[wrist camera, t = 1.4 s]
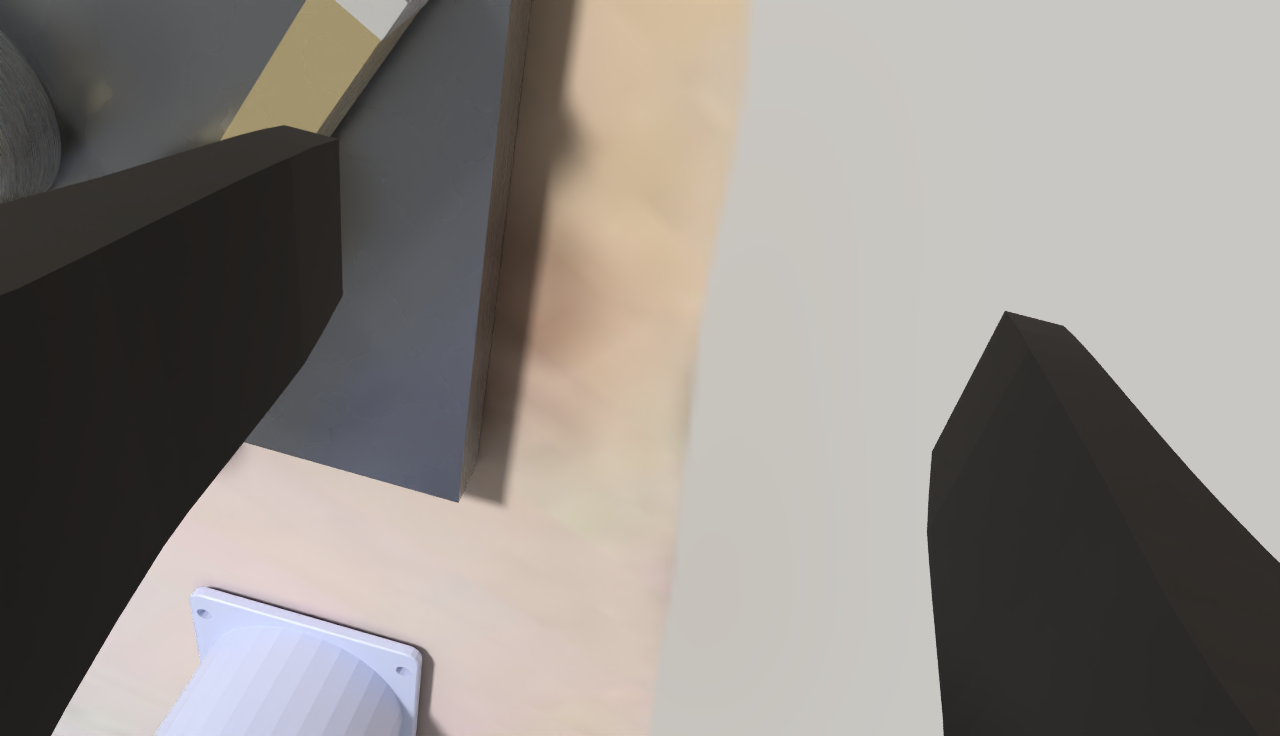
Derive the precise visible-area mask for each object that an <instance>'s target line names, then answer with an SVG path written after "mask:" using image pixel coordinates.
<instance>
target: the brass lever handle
mask: <svg viewBox="0 0 1280 736" xmlns="http://www.w3.org/2000/svg"><path fill="white" fill-rule="evenodd" d="M427 2H428V0H306V1H305V3H304V5H303V6H302V8H301V9H300V11H299V13H298V14H297V16H296V18H295V19H294V21H293V23H292V24H291V26H290V27H289V29H288V31H287V32H286V34H285V36H284V37H283V39H282V41H281V42H280V44H279V45H278V47H277V49H276V50H275V52H274V54H273V55H272V57H271V58H270V60H269V62H268V63H267V65H266V67H265V68H264V70H263V72H262V73H261V75H260V76H259V78H258V80H257V81H256V83H255V85H254V86H253V88H252V90H251V91H250V93H249V94H248V96H247V98H246V99H245V101H244V103H243V104H242V106H241V107H240V109H239V111H238V112H237V114H236V116H235V117H234V119H233V121H232V122H231V124H230V125H229V127H228V129H227V130H226V132H225V134H224V135H223V137H222V138H221V140H224V139H227V138H231V137H235V136H238V135H242V134H245V133H249V132H253V131H257V130H261V129H266V128H271V127H277V126H282V125H286V126H290V127H294V128H298V129H302V130H306V131H310V132H313V133H317V134H321V135H325V136H329V137H330V136H331V135H332V133H333V132H334V130H335V129H336V128H337V126H338V125H339V123H340V122H341V121H342V119H343V118H344V116H345V115H346V114H347V112H348V111H349V109H350V108H351V106H352V105H353V104H354V102H355V101H356V99H357V98H358V97H359V95H360V94H361V92H362V91H363V90H364V88H365V87H366V85H367V84H368V82H369V81H370V80H371V78H372V77H373V75H374V74H375V73H376V71H377V70H378V68H379V67H380V65H381V64H382V63H383V61H384V60H385V58H386V57H387V56H388V54H389V53H390V51H391V50H392V49H393V47H394V46H395V44H396V43H397V41H398V40H399V39H400V37H401V36H402V34H403V33H404V32H405V30H406V29H407V27H408V26H409V25H410V23H411V22H412V20H413V19H414V17H415V16H416V15H417V13H418V12H419V10H420V9H421V8H422V7H423V6H424V5H425V4H426V3H427ZM221 140H220V141H221Z"/></svg>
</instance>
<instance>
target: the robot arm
mask: <svg viewBox="0 0 1280 736" xmlns="http://www.w3.org/2000/svg"><path fill="white" fill-rule="evenodd" d="M342 296H343V281H342V242H341V203H340V163H339V139H337V138H333V137H329V136H325V135H321V134H317V133H313V132H310V131H306V130H302V129H298V128H294V127H290V126H286V125H282V126H277V127H271V128H266V129H261V130H257V131H253V132H249V133H245V134H242V135H238V136H235V137H231V138H227V139H224V140H221V141H217V142H214V143H211V144H207V145H204V146H201V147H197V148H194V149H191V150H188V151H184V152H181V153H178V154H174V155H171V156H168V157H165V158H161V159H158V160H155V161H152V162H148V163H145V164H142V165H138V166H135V167H132V168H129V169H125V170H122V171H119V172H115V173H112V174H109V175H105V176H102V177H99V178H95V179H91V180H87V181H84V182H80V183H76V184H72V185H69V186H65V187H61V188H57V189H54V190H50V191H46V192H42V193H39V194H35V195H31V196H27V197H24V198H20V199H16V200H13V201H9V202H5V203H1V204H0V736H51V735H52V733H53V731H54V729H55V727H56V725H57V724H58V722H59V720H60V718H61V716H62V714H63V713H64V711H65V709H66V707H67V705H68V704H69V702H70V700H71V698H72V697H73V695H74V693H75V692H76V690H77V688H78V687H79V685H80V683H81V681H82V680H83V678H84V676H85V675H86V673H87V671H88V669H89V668H90V666H91V664H92V663H93V661H94V659H95V657H96V656H97V654H98V652H99V651H100V649H101V647H102V646H103V644H104V642H105V640H106V639H107V637H108V635H109V634H110V632H111V630H112V628H113V627H114V625H115V623H116V622H117V620H118V618H119V617H120V615H121V614H122V612H123V610H124V609H125V607H126V606H127V604H128V602H129V601H130V599H131V598H132V596H133V594H134V593H135V591H136V590H137V588H138V586H139V585H140V583H141V582H142V580H143V578H144V577H145V575H146V574H147V572H148V570H149V569H150V567H151V566H152V564H153V562H154V561H155V559H156V558H157V556H158V554H159V553H160V551H161V550H162V548H163V547H164V545H165V544H166V542H167V541H168V539H169V538H170V537H171V535H172V534H173V533H174V531H175V530H176V528H177V527H178V526H179V524H180V523H181V521H182V520H183V519H184V517H185V516H186V514H187V513H188V512H189V510H190V509H191V508H192V507H193V505H194V504H195V503H196V502H197V500H198V499H199V498H200V497H201V495H202V494H203V493H204V491H205V490H206V489H207V488H208V486H209V485H210V484H211V483H212V481H213V480H214V479H215V478H216V476H217V475H218V474H219V473H220V471H221V470H222V469H223V468H224V466H225V465H226V464H227V463H228V461H229V460H230V459H231V457H232V456H233V455H234V454H235V452H236V451H237V450H238V449H239V447H240V446H241V445H242V444H243V442H244V441H245V440H246V439H247V437H248V436H249V435H250V434H251V432H252V431H253V430H254V429H255V427H256V426H257V425H258V423H259V422H260V421H261V420H262V418H263V417H264V416H265V415H266V413H267V412H268V411H269V409H270V408H271V407H272V406H273V404H274V403H275V402H276V400H277V399H278V398H279V397H280V395H281V394H282V393H283V391H284V390H285V389H286V388H287V386H288V385H289V384H290V382H291V381H292V380H293V378H294V377H295V376H296V374H297V373H298V372H299V371H300V369H301V368H302V367H303V365H304V364H305V362H306V360H307V359H308V357H309V355H310V353H311V352H312V350H313V348H314V347H315V345H316V343H317V342H318V340H319V338H320V337H321V335H322V333H323V331H324V329H325V328H326V326H327V324H328V322H329V320H330V318H331V316H332V315H333V313H334V311H335V309H336V307H337V305H338V304H339V302H340V300H341V298H342ZM927 537H928V553H929V565H930V577H931V589H932V601H933V613H934V624H935V635H936V647H937V658H938V669H939V680H940V691H941V702H942V713H943V729H944V736H1280V563H1279V562H1278V561H1277V560H1276V559H1275V558H1274V557H1273V556H1272V555H1271V554H1270V553H1269V552H1268V551H1267V550H1266V549H1265V548H1264V547H1263V546H1262V545H1261V544H1260V543H1259V542H1258V541H1257V540H1256V539H1255V538H1254V537H1253V536H1252V535H1251V534H1250V533H1249V532H1248V531H1247V529H1246V528H1245V527H1244V526H1243V525H1242V524H1241V523H1240V522H1239V521H1238V520H1237V519H1236V518H1235V517H1234V516H1233V515H1232V514H1231V513H1230V512H1229V511H1228V510H1227V509H1226V508H1225V507H1224V506H1223V505H1222V504H1221V503H1220V502H1219V501H1218V499H1217V498H1216V497H1215V496H1214V495H1213V494H1212V493H1211V492H1210V491H1209V490H1208V489H1207V487H1206V486H1205V485H1204V484H1203V483H1202V482H1201V481H1200V480H1199V479H1198V478H1197V477H1196V475H1195V474H1194V473H1193V472H1192V471H1191V470H1190V469H1189V468H1188V467H1187V465H1186V464H1185V463H1184V462H1183V461H1182V460H1181V459H1180V457H1179V456H1178V455H1177V454H1176V453H1175V452H1174V451H1173V450H1172V448H1171V447H1170V446H1169V445H1168V444H1167V443H1166V441H1165V440H1164V439H1163V438H1162V437H1161V436H1160V435H1159V434H1158V432H1157V431H1156V430H1155V429H1154V428H1153V426H1152V425H1151V424H1150V423H1149V422H1148V421H1147V419H1146V418H1145V417H1144V416H1143V415H1142V413H1141V412H1140V411H1139V410H1138V409H1137V408H1136V406H1135V405H1134V404H1133V403H1132V402H1131V401H1130V399H1129V398H1128V397H1127V396H1126V395H1125V393H1124V392H1123V391H1122V390H1121V389H1120V387H1119V386H1118V385H1117V384H1116V383H1115V382H1114V380H1113V379H1112V378H1111V377H1110V376H1109V375H1108V373H1107V372H1106V371H1105V370H1104V369H1103V368H1102V366H1101V365H1100V364H1099V363H1098V362H1097V361H1096V359H1095V358H1094V357H1093V356H1092V355H1091V354H1090V353H1089V352H1088V350H1086V348H1085V347H1084V346H1083V345H1082V344H1081V343H1080V342H1079V341H1078V340H1077V339H1076V337H1075V336H1073V335H1072V334H1071V333H1070V332H1069V331H1068V330H1067V329H1066V328H1065V327H1064V326H1062V325H1058V324H1054V323H1050V322H1046V321H1042V320H1038V319H1035V318H1031V317H1027V316H1023V315H1019V314H1015V313H1011V312H1007V311H1005V312H1004V314H1003V316H1002V318H1001V320H1000V322H999V324H998V326H997V327H996V329H995V331H994V333H993V335H992V337H991V339H990V341H989V343H988V345H987V347H986V349H985V351H984V353H983V355H982V357H981V358H980V360H979V362H978V364H977V366H976V368H975V370H974V372H973V374H972V376H971V378H970V380H969V381H968V383H967V386H966V387H965V389H964V391H963V393H962V395H961V397H960V399H959V401H958V403H957V405H956V407H955V408H954V411H953V412H952V414H951V416H950V418H949V420H948V422H947V424H946V426H945V428H944V430H943V432H942V433H941V435H940V437H939V439H938V441H937V443H936V445H935V447H934V449H933V451H932V461H931V473H930V487H929V502H928V523H927ZM190 606H191V612H192V617H193V623H194V629H195V634H196V640H197V646H198V652H199V657H200V665H199V667H198V668H197V670H196V671H195V673H194V674H193V676H192V677H191V679H190V680H189V682H188V683H187V685H186V686H185V688H184V690H183V691H182V693H181V694H180V696H179V697H178V699H177V700H176V702H175V703H174V705H173V706H172V708H171V709H170V711H169V712H168V714H167V716H166V717H165V719H164V720H163V722H162V723H161V725H160V726H159V728H158V729H157V731H156V732H155V734H154V735H153V736H416V729H417V717H418V705H419V693H420V681H421V668H422V655H421V653H420V652H419V651H418V650H417V649H415V648H414V647H412V646H409V645H406V644H402V643H399V642H395V641H392V640H388V639H385V638H381V637H378V636H374V635H371V634H367V633H364V632H361V631H357V630H354V629H350V628H347V627H343V626H340V625H336V624H333V623H329V622H326V621H322V620H319V619H315V618H312V617H308V616H305V615H301V614H298V613H295V612H291V611H288V610H284V609H281V608H277V607H274V606H270V605H267V604H263V603H260V602H256V601H253V600H249V599H246V598H242V597H239V596H235V595H232V594H229V593H225V592H222V591H218V590H215V589H211V588H207V587H199V588H196V589H195V590H194V592H193V593H192V595H191V596H190Z"/></svg>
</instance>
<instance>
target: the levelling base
mask: <svg viewBox="0 0 1280 736" xmlns="http://www.w3.org/2000/svg"><path fill="white" fill-rule="evenodd" d="M305 1H306V0H0V204H1V203H5V202H9V201H13V200H16V199H20V198H24V197H27V196H31V195H35V194H39V193H42V192H46V191H50V190H54V189H57V188H61V187H65V186H69V185H72V184H76V183H80V182H84V181H87V180H91V179H95V178H99V177H102V176H105V175H109V174H112V173H115V172H119V171H122V170H125V169H129V168H132V167H135V166H138V165H142V164H145V163H148V162H152V161H155V160H158V159H161V158H165V157H168V156H171V155H174V154H178V153H181V152H184V151H188V150H191V149H194V148H197V147H201V146H204V145H207V144H211V143H214V142H217V141H220V140H221V138H222V137H223V135H224V134H225V132H226V130H227V129H228V127H229V125H230V124H231V122H232V121H233V119H234V117H235V116H236V114H237V112H238V111H239V109H240V107H241V106H242V104H243V103H244V101H245V99H246V98H247V96H248V94H249V93H250V91H251V90H252V88H253V86H254V85H255V83H256V81H257V80H258V78H259V76H260V75H261V73H262V72H263V70H264V68H265V67H266V65H267V63H268V62H269V60H270V58H271V57H272V55H273V54H274V52H275V50H276V49H277V47H278V45H279V44H280V42H281V41H282V39H283V37H284V36H285V34H286V32H287V31H288V29H289V27H290V26H291V24H292V23H293V21H294V19H295V18H296V16H297V14H298V13H299V11H300V9H301V8H302V6H303V5H304V3H305ZM531 3H532V0H428V2H427V3H426V4H425V5H424V6H423V7H422V8H421V9H420V10H419V12H418V13H417V15H416V16H415V17H414V19H413V20H412V22H411V23H410V25H409V26H408V27H407V29H406V30H405V32H404V33H403V34H402V36H401V37H400V39H399V40H398V41H397V43H396V44H395V46H394V47H393V49H392V50H391V51H390V53H389V54H388V56H387V57H386V58H385V60H384V61H383V63H382V64H381V65H380V67H379V68H378V70H377V71H376V73H375V74H374V75H373V77H372V78H371V80H370V81H369V82H368V84H367V85H366V87H365V88H364V90H363V91H362V92H361V94H360V95H359V97H358V98H357V99H356V101H355V102H354V104H353V105H352V106H351V108H350V109H349V111H348V112H347V114H346V115H345V116H344V118H343V119H342V121H341V122H340V123H339V125H338V126H337V128H336V129H335V130H334V132H333V133H332V135H331V136H330V137H333V138H337V139H339V163H340V203H341V242H342V281H343V296H342V298H341V300H340V302H339V304H338V305H337V307H336V309H335V311H334V313H333V315H332V316H331V318H330V320H329V322H328V324H327V326H326V328H325V329H324V331H323V333H322V335H321V337H320V338H319V340H318V342H317V343H316V345H315V347H314V348H313V350H312V352H311V353H310V355H309V357H308V359H307V360H306V362H305V364H304V365H303V367H302V368H301V369H300V371H299V372H298V373H297V374H296V376H295V377H294V378H293V380H292V381H291V382H290V384H289V385H288V386H287V388H286V389H285V390H284V391H283V393H282V394H281V395H280V397H279V398H278V399H277V400H276V402H275V403H274V404H273V406H272V407H271V408H270V409H269V411H268V412H267V413H266V415H265V416H264V417H263V418H262V420H261V421H260V422H259V423H258V425H257V426H256V427H255V429H254V430H253V431H252V432H251V434H250V435H249V436H248V437H247V439H246V440H245V441H244V442H245V443H249V444H252V445H256V446H260V447H263V448H267V449H270V450H274V451H277V452H281V453H284V454H288V455H291V456H295V457H298V458H302V459H306V460H309V461H313V462H316V463H320V464H323V465H327V466H330V467H334V468H337V469H341V470H344V471H348V472H352V473H355V474H359V475H362V476H366V477H369V478H373V479H376V480H380V481H383V482H387V483H390V484H394V485H398V486H401V487H405V488H408V489H412V490H415V491H419V492H422V493H426V494H429V495H433V496H436V497H440V498H444V499H447V500H451V501H454V502H459V500H460V498H461V496H462V494H463V492H464V490H465V488H466V486H467V484H468V481H469V479H470V477H471V475H472V473H473V471H474V469H475V467H476V465H477V459H478V450H479V442H480V434H481V425H482V417H483V408H484V400H485V391H486V383H487V374H488V366H489V358H490V349H491V341H492V332H493V324H494V315H495V307H496V298H497V290H498V282H499V273H500V265H501V256H502V248H503V239H504V231H505V223H506V214H507V206H508V197H509V189H510V180H511V172H512V163H513V155H514V147H515V138H516V130H517V121H518V113H519V104H520V96H521V87H522V79H523V71H524V62H525V54H526V45H527V37H528V28H529V20H530V11H531Z"/></svg>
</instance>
